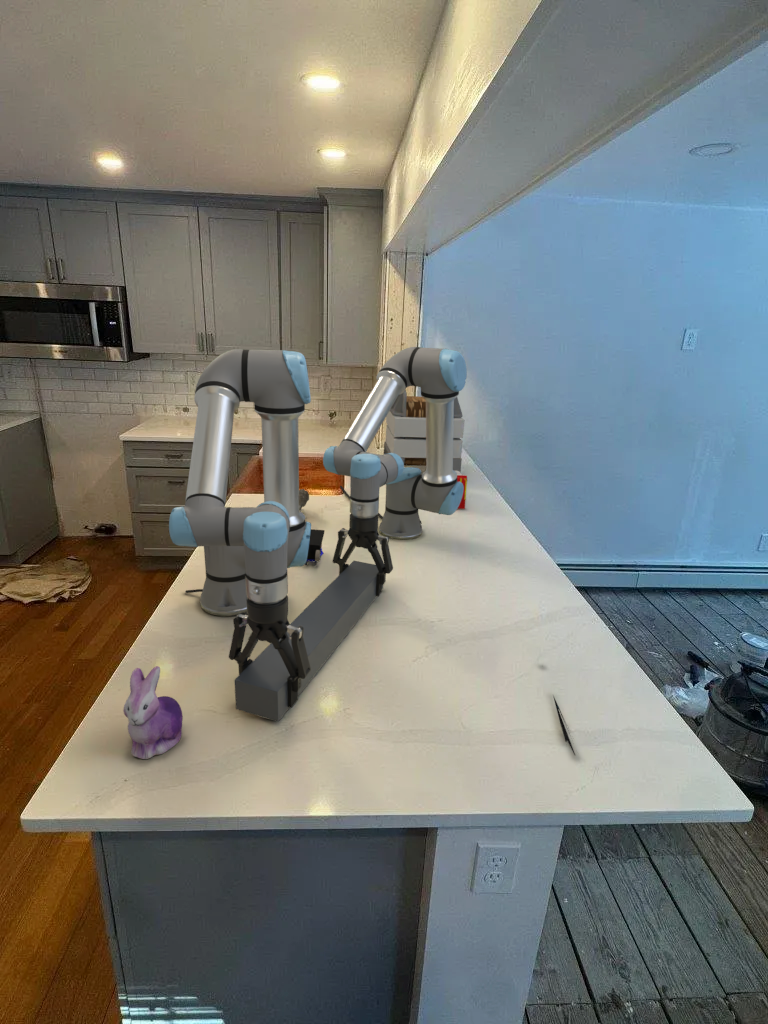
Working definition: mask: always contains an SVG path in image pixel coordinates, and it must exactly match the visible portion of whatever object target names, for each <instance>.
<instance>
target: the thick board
mask: <svg viewBox="0 0 768 1024" xmlns="http://www.w3.org/2000/svg"><path fill="white" fill-rule="evenodd" d="M378 572H379V571H378V569H377V567H376V564H375V563H369V562H363V561H359V560H353V561H352V562H351V563H350V564H349V566H348V567H347V568H346V569H345V570H344V571H343V572H342V573H341V574H340V575H339V574H338V575H337V577H336V578H334V580H333V581H331V583H330V584H328V585H327V586H326V587H325V588H324V590H322V591H321V593H320V594H318V596H317V597H315V599H313V601H312V602H311V603H309V605H307V607H306V608H305V609H304V610H303V611H301V613H299V614H298V616H296V617H295V619H294V620H292V621H291V622H290V623H289V624H290V625H291V626H293V627H296V628H298V627H299V626H302V627H303V628H304V633H303V639H304V643H305V647H306V651H307V655H308V659H309V663H310V667H311V671H310V672H309V674H308V675H307V676H306V677H305V678H304V679H302V678H301V684H302V686H301V688H300V690H299V691H298V697H300V695H301V694H302V693H303V691H304V690H305V689H306V687H308V685H309V684H310V683H311V681H312V680H313V678H314V677H315V676H316V675H317V673H318V672H319V671H320V670H321V668H322V667H323V665H324V664H325V663H326V662H327V661H328V659H330V657H331V655H332V654H333V653H334V652H335V650H336V649H337V648H338V646H339V645H340V644H341V643H342V641H343V640H344V639H345V638H346V636H348V634H349V633H350V631H351V630H352V629H353V628H354V627H355V625H356V624H357V623H358V621H359V620H360V619H361V617H362V616H363V615H364V613H365V612H366V611H367V610H368V608H369V607H370V606H371V605H372V604H373V602H374V601H375V600H376V598H377V597H378V596H376V578H377V573H378ZM384 585H385V583H384V584H383V585H382V590H383V589H384V587H385V586H384ZM286 633H287V635H288V637H290V635H289V633H288V632H286ZM280 640H281V639H280ZM280 640H279V641H280ZM289 643H290V645H291V647H292V644H291V639H289ZM292 649H293V648H292ZM289 676H290V674H289V672H288V670H287V668H286V666H285V664H284V662H283V660H282V658H281V656H280V654H279V652H278V650H277V649H275V648H274V646H273V644H272V643H269V644H268V646H266V648H264V650H262V651H261V652H260V653H259V654H258V656H256V658H254V659H253V662H252V663H251V664H250V665H249V666H248V667H247V668H246V669H245V670H244V671H243V672H242V673H241V674H240V675H239V674H238V675H237V676H236V677H235V679H234V680H233V682H234V694H235V695H234V696H235V697H234V698H235V700H234V701H235V710H237V711H241V712H244V713H248V714H251V715H254V716H257V717H260V718H264V719H268V720H271V721H274V722H277V723H279V721H280V720H281V719H282V718H283V717H284V715H285V714H286V713H287V711H288V710H289V709H290V707H288V686H287V678H288V677H289Z"/></svg>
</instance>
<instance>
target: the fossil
mask: <svg viewBox="0 0 768 1024" xmlns="http://www.w3.org/2000/svg"><path fill="white" fill-rule="evenodd" d="M309 500H310V494H309V492H308V490H305V488H299V510H300V511H301V510H302V508H303V507H305V506H306V505H307V503H308V502H309Z"/></svg>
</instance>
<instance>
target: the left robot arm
mask: <svg viewBox="0 0 768 1024" xmlns="http://www.w3.org/2000/svg"><path fill="white" fill-rule="evenodd" d="M193 397H194V398H193V399H194V404H195V405H196V406H197V410H196V411H197V412H196V419H195V428H194V434H193V442H192V450H191V456H190V462H189V463H190V464H189V472H188V477H187V485H186V493H185V503H184V505H182V506H176V507H173V508H172V510H171V512H170V514H169V520H168V531H169V537H170V540H171V542H172V544H174V545H176V546H180V547H191V548H198V547H203V554H204V567H205V580H204V584H203V587H202V588H199V589H188V590H187V589H186V590H185V591H184V592H185V594H190V593H200V600H199V601H200V607H201V609H202V610H203V611H204V612H206V613H207V614H210V615H213V616H218V617H233V616H235V617H234V618H233V619H232V622H233V623H232V624H233V628H234V629H233V632H232V633H233V634H232V637H231V644H230V647H229V653H228V659H229V660H230V661H236V664H237V665H238V676H239V675H240V674H241V673H242V672H243V671H244V670H245V669H246V668H247V667H248V666H249V665H250V664H251V663H252V662H253V661H254V659H251V658H250V657H251V654H252V652H253V651H254V649H255V647H256V645H257V644H258V642H259V641H261V642H267V643H268V644H271V643H272V644H273V646H274V648H275V649H277V650H278V652H279V654H280V656H281V658H282V660H283V662H284V664H285V666H286V668H287V670H288V672H289V674H290V676H289V677H288V678H287V686H288V707H289V709H291V708H293V706H294V705H295V704H296V702H297V701H298V700H299V696H298V691H299V690H300V688H301V686H302V684H301V678H302V679H304V678H305V677H306V676H307V675H308V674H309V672H310V671H311V667H310V663H309V659H308V655H307V651H306V647H305V643H304V639H303V633H304V628H303V627H302V626H299V627H298V628H296V627H293V626H291V625H290V624H291V623H290V622H289V620H288V616H289V596H288V593H289V578H288V577H289V575H288V574H289V573H288V569H290V568H297V567H298V568H301V567H303V566H305V563H306V561H307V556H308V549H309V541H310V532H311V529H312V524H311V522H310V521H307V520H306V515H305V514H304V512H302V511H301V510H299V490H300V461H299V460H300V458H299V457H300V456H299V453H300V452H299V451H300V449H299V418H300V417H301V416H302V414H304V413H305V410H306V405H308V404H311V402H312V398H311V388H310V380H309V371H308V366H307V360H306V357H305V355H304V354H303V353H302V352H299V351H292V350H285V349H245V348H237V349H236V348H235V349H230V350H227V351H225V352H223V353H221V354H219V355H218V356H216V357H215V358H214V359H213V360H212V361H211V362H210V363H209V364H208V365H207V366H206V367H205V369H204V370H203V371H202V372H201V375H200V376H199V378H198V380H197V383H196V386H195V391H194V396H193ZM241 402H242V403H243V402H245V403H253V406H254V408H253V409H254V412H255V413H256V414H257V415H259V416H260V418H261V422H260V423H261V446H262V447H261V450H262V474H263V475H262V477H263V502H261V503H260V504H258V505H257V506H255V507H253V506H252V507H247V506H246V507H243V506H242V507H240V506H237V507H236V506H235V507H234V506H233V507H232V506H227V507H226V503H227V491H228V480H229V471H230V461H231V451H232V450H231V449H232V439H233V428H234V417H235V413H236V412H237V411H238V410H239V408H240V404H241ZM246 614H247V615H246ZM247 625H248V627H249V628H250V630H251V633H250V635H249V637H248V639H247V641H246V644H244V639H245V635H246V631H247ZM286 632H288V633H289V635H290V637H288V635H287V633H286ZM280 639H281V640H280ZM289 639H291V644H292V647H291V645H290V643H289ZM279 640H280V641H279ZM243 644H244V645H245V646H243ZM292 648H293V649H292Z"/></svg>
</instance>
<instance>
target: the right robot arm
mask: <svg viewBox="0 0 768 1024" xmlns="http://www.w3.org/2000/svg"><path fill="white" fill-rule="evenodd" d="M467 369H468V368H467V364H466V360H465V358H464V356H463V354H462V353H461V352H459V351H458V350H453V349H448V348H437V347H420V346H409V347H405V348H403V349H401V350H400V351H398V352H396V353H395V354H394V355H392V356H391V357H390V358H389V359H388V360H387V361H386V362H385V363H384V364H383V365H382V366H381V368H380V370H379V371H378V373H377V374H376V377H375V379H376V383H375V384H374V386H373V387H372V389H371V391H370V393H369V394H368V396H367V398H366V400H365V402H364V403H363V405H362V406H361V408H360V409H359V411H358V413H357V415H356V417H355V418H354V420H353V421H352V423H351V424H350V427H349V429H348V430H347V431H346V433H345V435H344V437H343V439H342V440H341V442H340V444H339V445H338V446H337V445H331V446H329V447H328V448H326V449H325V451H324V453H323V457H322V465H323V467H324V469H325V470H326V471H327V472H329V473H332V474H335V475H338V476H346V477H349V478H350V479H349V480H350V481H349V482H350V487H349V488H350V489H349V490H350V492H349V493H350V494H348V492H347V491H346V490H345V489H344V487H343V486H342V485H340V486H339V488H340V489H341V491H342V492H343V493H344V495H345V496H346V497H347V498H348V499H349V513H350V514H349V521H348V522H349V526H348V527H349V528H348V529H346V528H344V527H342V528H341V529H339V530H338V531H337V542H336V546H335V550H334V553H333V557H332V563H333V564H336V565H338V576H339V575H340V574H341V573H342V572H343V571H344V570H345V569H346V568H347V567H348V566H349V565H350V564H349V563H347V562H348V560H349V558H350V557H351V555H352V553H353V552H354V550H355V548H362V549H366V550H367V551H368V553H370V556H371V558H372V560H373V562H374V565H376V567H377V569H378V571H379V572H378V573H377V578H376V596H377V597H379V596H380V595H381V594H382V592H383V589H382V585H383V584H384V585H385V583H386V579H387V578H386V577H387V574H388V575H389V574H390V573H391V572H392V571H393V570H394V566H393V560H392V556H391V551H390V546H389V544H390V543H389V542H390V540H395V541H410V540H415V539H418V538H420V537H421V536H422V535H423V525H422V520H421V518H420V515H419V510H421V511H426V512H429V513H435V514H438V515H445V516H452V515H453V514H454V513H456V511H457V510H458V509H457V508H458V506H459V504H460V502H461V499H462V496H463V490H464V486H463V484H462V483H461V482H460V481H459V482H457V473H456V472H455V471H454V470H453V418H454V399H455V398H456V397H457V398H458V397H459V395H460V392H462V390H464V388H465V385H466V381H467V373H468V370H467ZM409 387H417V388H420V397H423V398H424V399H425V400H426V466H425V469H426V470H424V471H423V472H422V470H421V468H419V467H414V466H411V467H409V466H406V467H405V465H404V463H403V461H402V459H401V457H400V456H398V455H397V454H395V453H386V454H384V453H383V454H379V453H373V452H368V449H369V448H370V446H371V445H372V442H373V440H374V439H375V437H376V435H377V434H378V432H379V430H380V428H381V426H382V425H383V423H384V422H385V420H386V416H387V414H388V412H389V411H390V409H391V407H392V405H393V404H394V402H395V400H396V398H397V397H398V395H400V394H402V393H403V392H404V391H405V390H406V389H407V388H409ZM383 486H385V504H384V505H385V507H384V508H385V509H384V513H383V515H382V514H381V513H380V512H379V508H380V488H381V487H383ZM379 518H380V519H381V522H379ZM347 537H348V538H349V539H350V540H351V541H350V544H349V545H348V547H347V549H346V551H344V554H343V555H342V553H343V549H344V546H345V543H346V539H347ZM377 541H378V542H379V545H380V549H381V553H380V551H379V549H378V544H377V543H376V542H377ZM381 555H382V556H381Z"/></svg>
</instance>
